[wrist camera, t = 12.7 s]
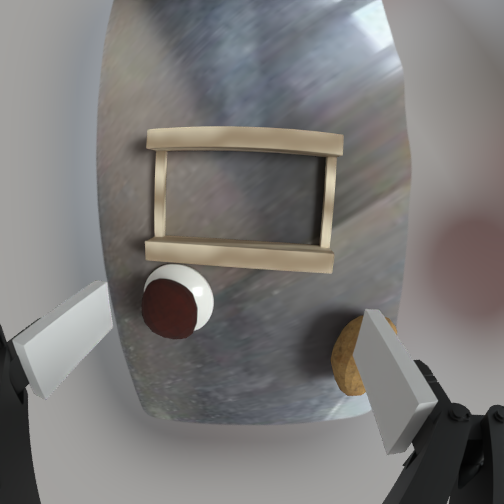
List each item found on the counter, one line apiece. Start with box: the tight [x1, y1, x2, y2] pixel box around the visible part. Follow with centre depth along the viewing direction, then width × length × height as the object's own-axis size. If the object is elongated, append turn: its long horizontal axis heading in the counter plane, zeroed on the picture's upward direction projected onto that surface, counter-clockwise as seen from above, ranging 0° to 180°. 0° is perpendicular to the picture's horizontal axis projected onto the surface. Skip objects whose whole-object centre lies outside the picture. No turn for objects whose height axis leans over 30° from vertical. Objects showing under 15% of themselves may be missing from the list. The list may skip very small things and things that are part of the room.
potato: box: [331, 315, 397, 396], centre depth 38 cm, size 10×14×8 cm
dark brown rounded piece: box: [142, 278, 198, 339], centre depth 37 cm, size 8×9×8 cm
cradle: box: [145, 127, 343, 273], centre depth 35 cm, size 17×24×4 cm
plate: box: [144, 263, 214, 331], centre depth 41 cm, size 11×11×1 cm
